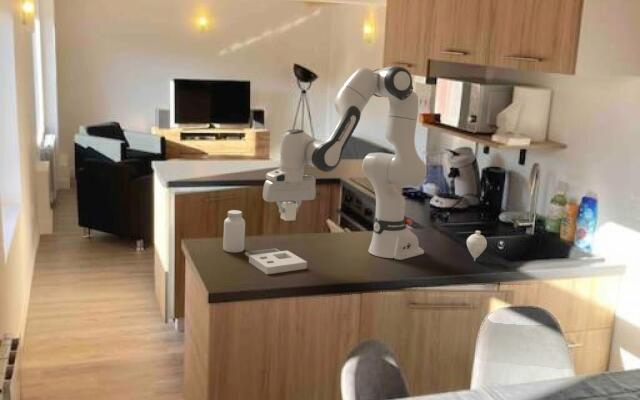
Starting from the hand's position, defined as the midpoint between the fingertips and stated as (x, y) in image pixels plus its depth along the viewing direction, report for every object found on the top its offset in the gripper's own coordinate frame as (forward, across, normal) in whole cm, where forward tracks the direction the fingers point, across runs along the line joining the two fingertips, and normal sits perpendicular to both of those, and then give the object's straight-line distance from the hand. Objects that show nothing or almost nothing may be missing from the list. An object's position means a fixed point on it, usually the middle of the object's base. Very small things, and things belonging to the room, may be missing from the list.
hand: (288, 212), depth 245 cm
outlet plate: (+18, +5, +4) cm, 19 cm away
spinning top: (+17, -70, +26) cm, 76 cm away
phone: (+19, +4, -8) cm, 21 cm away
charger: (+2, 0, 0) cm, 2 cm away
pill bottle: (+18, +12, -18) cm, 29 cm away
